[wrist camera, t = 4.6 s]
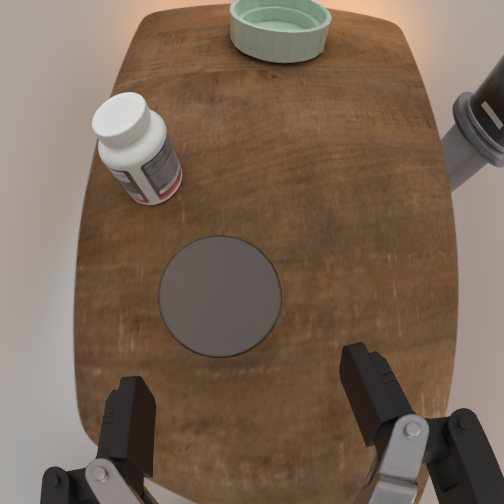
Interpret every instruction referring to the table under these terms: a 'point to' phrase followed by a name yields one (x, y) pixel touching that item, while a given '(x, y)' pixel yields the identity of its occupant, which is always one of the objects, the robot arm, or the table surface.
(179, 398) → the table surface
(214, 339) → the dark cylinder
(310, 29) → the bowl
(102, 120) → the pill bottle
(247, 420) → the table surface
